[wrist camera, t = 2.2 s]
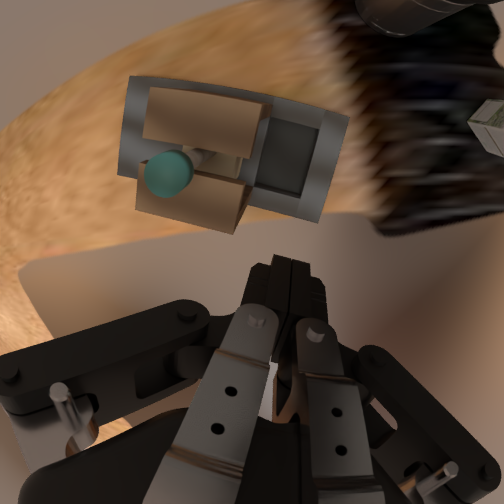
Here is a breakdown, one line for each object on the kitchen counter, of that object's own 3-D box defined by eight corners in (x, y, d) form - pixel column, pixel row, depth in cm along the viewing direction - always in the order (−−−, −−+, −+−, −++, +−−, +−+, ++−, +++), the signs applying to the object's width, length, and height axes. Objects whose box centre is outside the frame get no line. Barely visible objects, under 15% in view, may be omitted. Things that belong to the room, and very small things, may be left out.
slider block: (202, 111, 35) (132, 122, 20) (251, 120, 35) (213, 135, 19) (192, 165, 38) (124, 212, 23) (238, 175, 38) (196, 230, 23)
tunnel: (138, 76, 36) (75, 73, 23) (346, 116, 35) (371, 123, 23) (125, 170, 42) (67, 201, 30) (316, 216, 42) (323, 268, 29)
